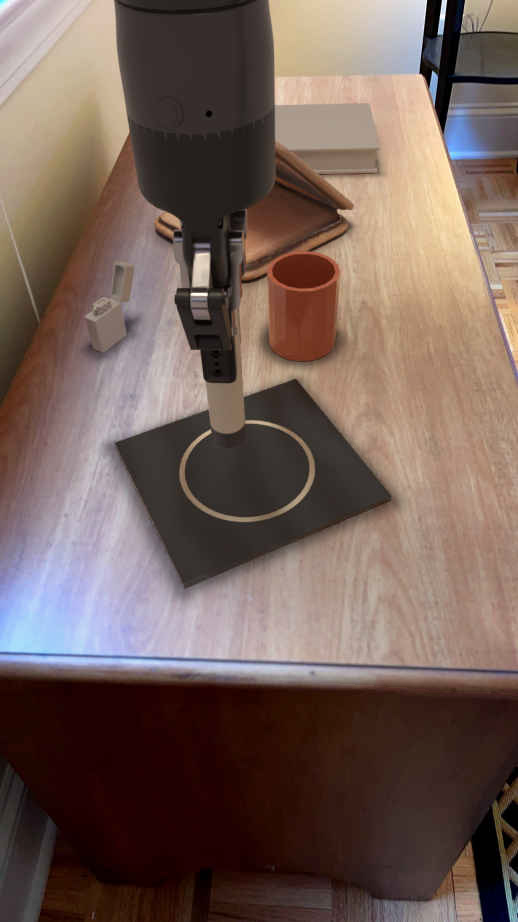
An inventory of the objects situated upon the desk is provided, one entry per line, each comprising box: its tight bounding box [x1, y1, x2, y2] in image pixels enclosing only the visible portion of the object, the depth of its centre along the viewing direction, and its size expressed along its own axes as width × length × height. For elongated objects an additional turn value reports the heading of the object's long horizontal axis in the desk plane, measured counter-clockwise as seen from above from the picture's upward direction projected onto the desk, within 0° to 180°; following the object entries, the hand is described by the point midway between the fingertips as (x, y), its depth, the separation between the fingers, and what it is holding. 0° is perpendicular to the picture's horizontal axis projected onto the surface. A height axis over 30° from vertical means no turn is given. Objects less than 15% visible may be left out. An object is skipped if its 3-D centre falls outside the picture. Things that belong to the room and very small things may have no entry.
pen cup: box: [266, 250, 341, 362], centre depth 74 cm, size 7×7×9 cm
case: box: [153, 140, 355, 281], centre depth 88 cm, size 20×21×16 cm
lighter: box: [84, 260, 135, 354], centre depth 76 cm, size 7×2×8 cm, turn 146°
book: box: [275, 102, 380, 175], centre depth 109 cm, size 18×4×24 cm
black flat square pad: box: [114, 378, 392, 589], centre depth 64 cm, size 20×18×1 cm
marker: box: [205, 308, 246, 448], centre depth 48 cm, size 3×3×12 cm
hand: (223, 363), depth 47 cm, fingers closed on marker, 2 cm apart
